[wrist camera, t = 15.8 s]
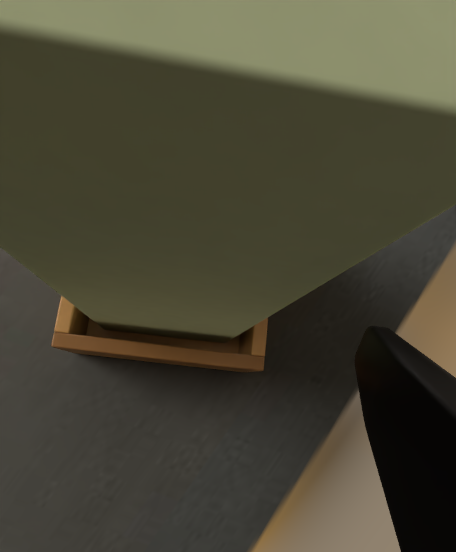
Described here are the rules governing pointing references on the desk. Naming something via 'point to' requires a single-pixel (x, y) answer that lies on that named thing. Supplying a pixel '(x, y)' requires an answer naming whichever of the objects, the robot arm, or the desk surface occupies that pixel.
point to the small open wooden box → (158, 344)
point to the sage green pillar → (218, 149)
